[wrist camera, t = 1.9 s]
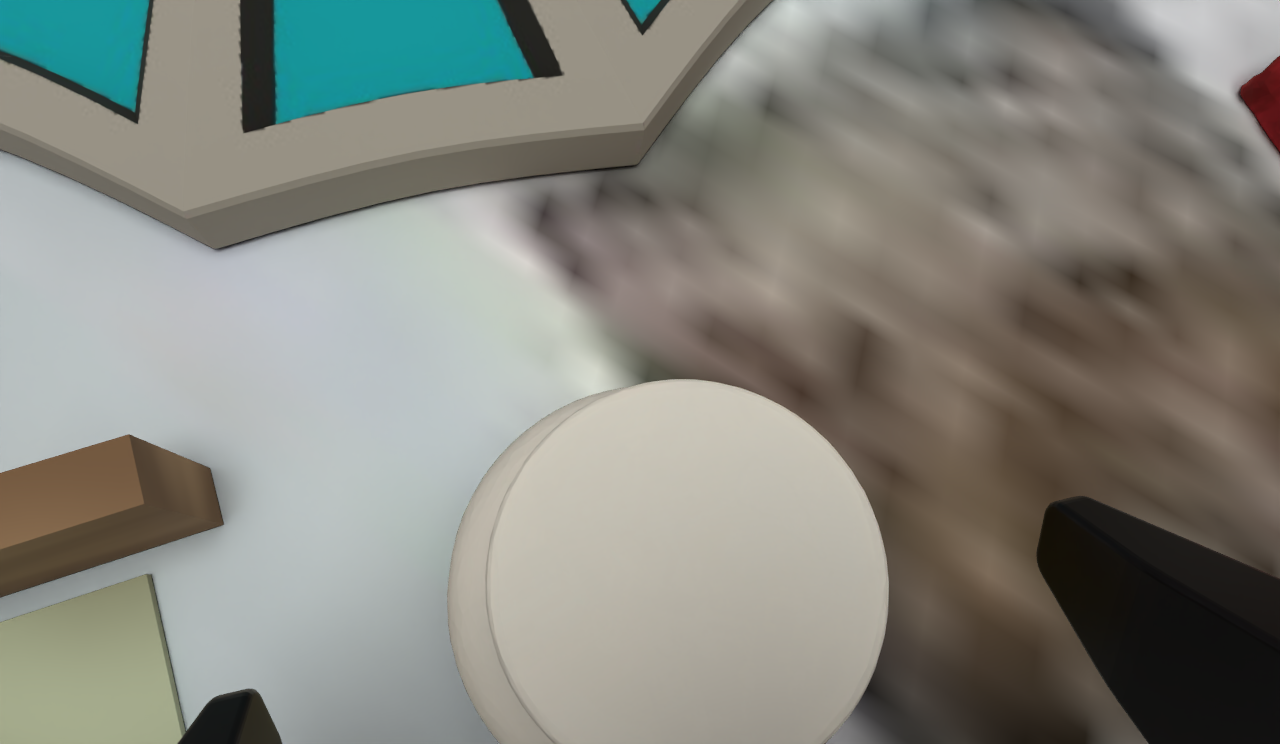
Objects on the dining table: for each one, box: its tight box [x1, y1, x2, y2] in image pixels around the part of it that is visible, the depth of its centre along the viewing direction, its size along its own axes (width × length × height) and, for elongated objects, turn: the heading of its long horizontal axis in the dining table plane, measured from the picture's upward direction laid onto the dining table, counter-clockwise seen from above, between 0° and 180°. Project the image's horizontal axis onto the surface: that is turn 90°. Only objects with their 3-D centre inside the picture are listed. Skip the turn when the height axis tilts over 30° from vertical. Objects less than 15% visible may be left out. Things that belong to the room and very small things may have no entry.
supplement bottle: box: [447, 379, 889, 744], centre depth 13 cm, size 5×5×10 cm
